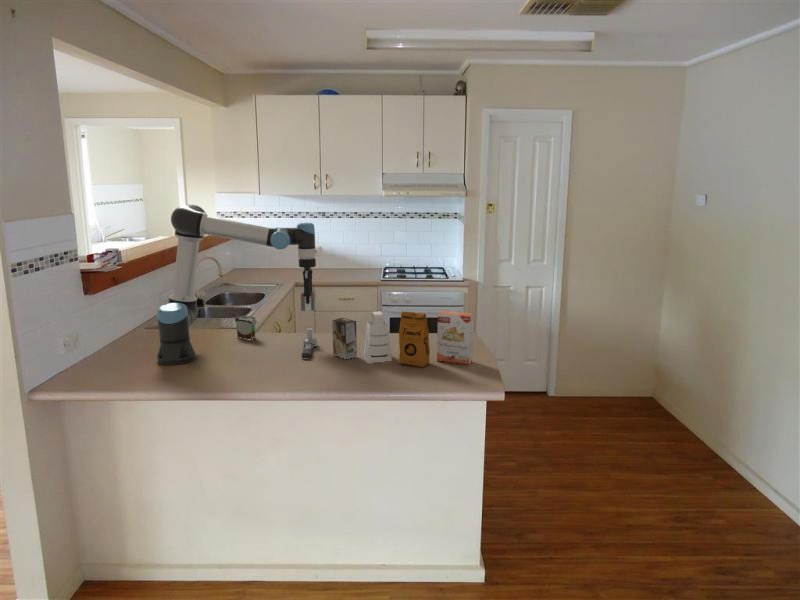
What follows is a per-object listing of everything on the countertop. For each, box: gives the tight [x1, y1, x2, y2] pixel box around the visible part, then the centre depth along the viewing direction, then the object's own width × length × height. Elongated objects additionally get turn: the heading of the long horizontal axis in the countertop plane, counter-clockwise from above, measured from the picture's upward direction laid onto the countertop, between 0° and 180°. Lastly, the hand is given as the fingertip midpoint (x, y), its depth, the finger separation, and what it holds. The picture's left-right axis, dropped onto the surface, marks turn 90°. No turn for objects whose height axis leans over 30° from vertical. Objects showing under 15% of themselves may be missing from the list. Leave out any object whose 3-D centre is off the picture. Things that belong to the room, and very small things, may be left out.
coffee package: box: [398, 311, 431, 368], centre depth 228 cm, size 10×12×22 cm
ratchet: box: [301, 327, 318, 359], centre depth 247 cm, size 22×6×8 cm, turn 4°
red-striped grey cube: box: [300, 290, 317, 312], centre depth 251 cm, size 6×6×8 cm
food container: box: [234, 315, 258, 341], centre depth 268 cm, size 12×6×10 cm, turn 58°
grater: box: [363, 310, 393, 364], centre depth 235 cm, size 10×10×20 cm
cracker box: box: [436, 310, 474, 366], centre depth 231 cm, size 14×6×21 cm, turn 68°
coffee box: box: [331, 317, 358, 360], centre depth 238 cm, size 9×6×16 cm
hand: (309, 308), depth 252 cm, fingers closed on red-striped grey cube, 6 cm apart
